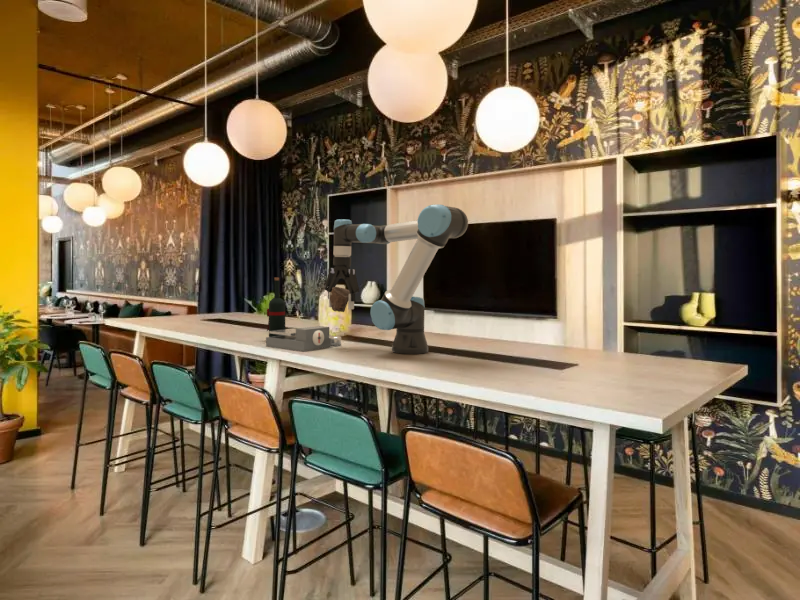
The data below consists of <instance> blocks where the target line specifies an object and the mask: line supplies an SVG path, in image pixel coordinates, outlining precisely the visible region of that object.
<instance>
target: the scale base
mask: <svg viewBox="0 0 800 600" xmlns="http://www.w3.org/2000/svg"><path fill="white" fill-rule="evenodd" d="M295 329H296V335H295V336H288V335H280V336H272V337H269V336H265V347H267V346H268V348H269V347H270V348H275V349H283V350H289V351H297V352H309V351H311V352H312V351H316V350H323V349H329V348H331V347H332V346H331V338H329V335H330V326H323V325H317V326H309V327H308V326H307V327H301V328H300V327H299V328H295Z"/></svg>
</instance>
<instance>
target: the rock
mask: <svg viewBox="0 0 800 600" xmlns="http://www.w3.org/2000/svg"><path fill="white" fill-rule="evenodd" d="M349 293H350V291H349V289H347V288H344V287H338V286H335V287H333V288H332V291H331V292H330V302H331V306H332V307H331V310H332V311H334V312H339V313H344V312H345V311H346V309H347V305H348V301H349Z"/></svg>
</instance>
